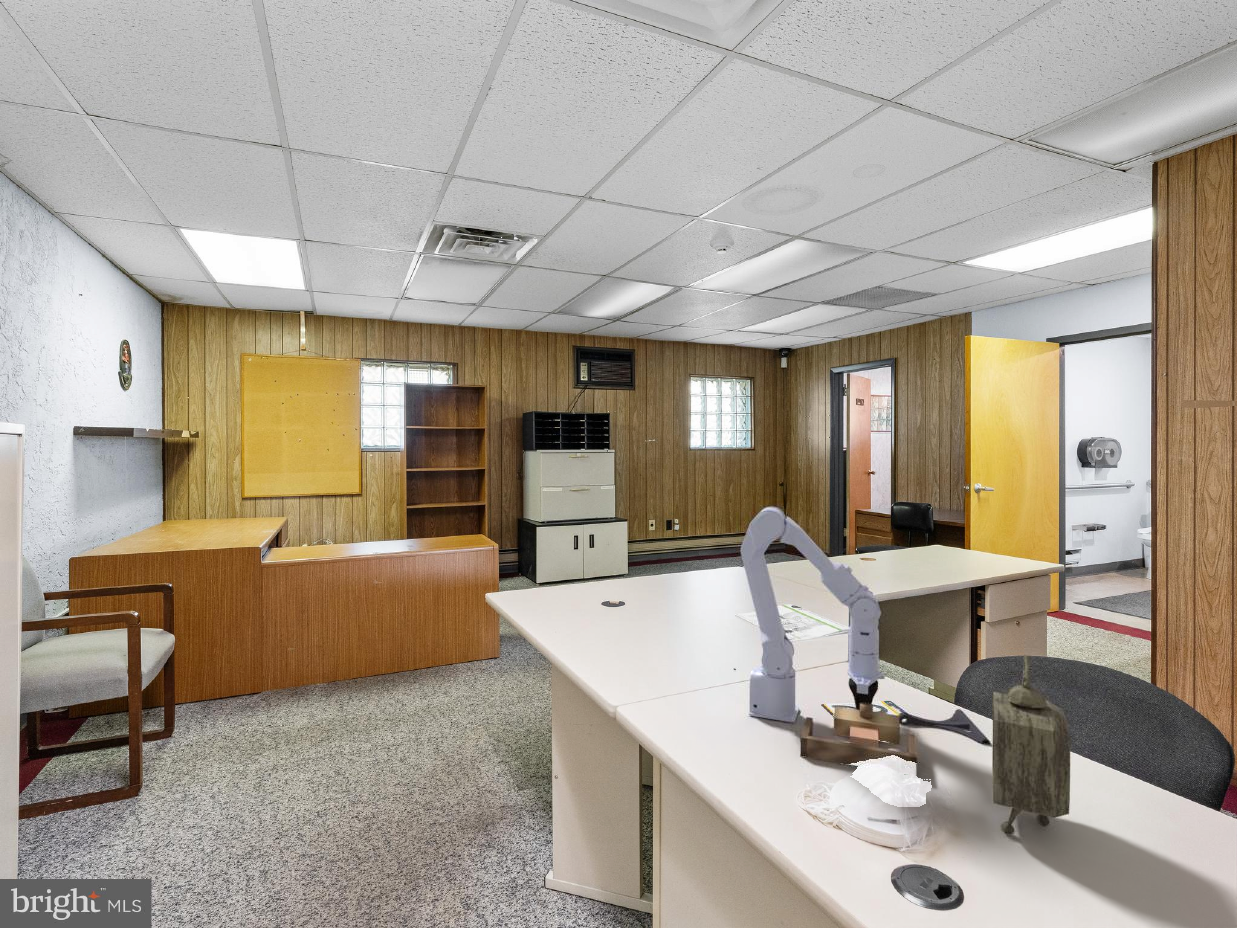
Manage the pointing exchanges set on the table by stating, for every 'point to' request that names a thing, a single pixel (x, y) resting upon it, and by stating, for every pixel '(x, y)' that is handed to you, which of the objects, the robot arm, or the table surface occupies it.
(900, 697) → the table surface
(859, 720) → the wooden box with knob
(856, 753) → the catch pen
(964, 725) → the bracket
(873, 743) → the tile
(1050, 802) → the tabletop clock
